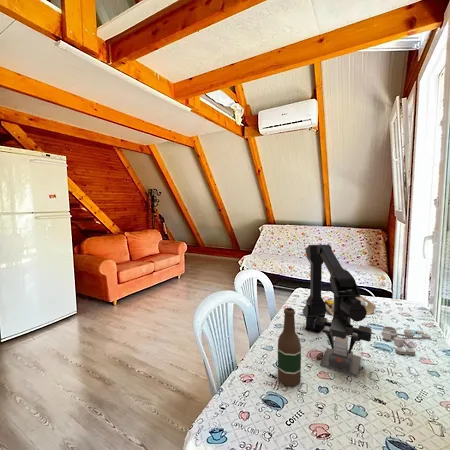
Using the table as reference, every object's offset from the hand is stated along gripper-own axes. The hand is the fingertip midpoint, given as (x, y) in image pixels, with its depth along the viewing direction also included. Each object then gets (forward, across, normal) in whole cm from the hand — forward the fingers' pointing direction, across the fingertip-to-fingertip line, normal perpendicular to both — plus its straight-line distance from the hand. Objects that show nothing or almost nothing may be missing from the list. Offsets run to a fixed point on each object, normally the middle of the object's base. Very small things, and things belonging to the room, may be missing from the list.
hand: (341, 350), depth 95 cm
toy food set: (+5, -7, +55) cm, 56 cm away
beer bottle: (+5, -13, -19) cm, 23 cm away
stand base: (+4, 0, 0) cm, 4 cm away
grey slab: (+4, 0, 0) cm, 4 cm away
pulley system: (+5, +19, +31) cm, 37 cm away
